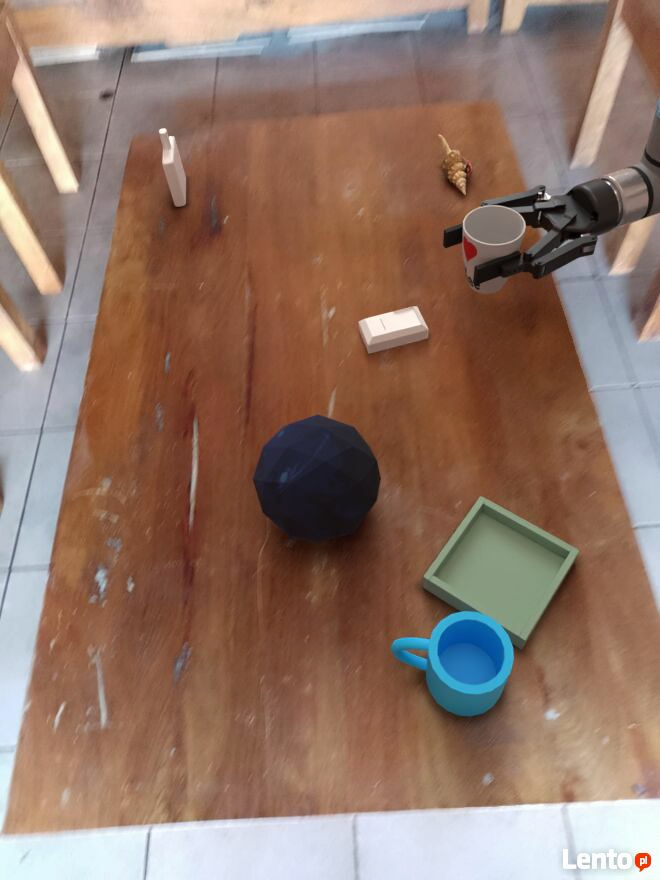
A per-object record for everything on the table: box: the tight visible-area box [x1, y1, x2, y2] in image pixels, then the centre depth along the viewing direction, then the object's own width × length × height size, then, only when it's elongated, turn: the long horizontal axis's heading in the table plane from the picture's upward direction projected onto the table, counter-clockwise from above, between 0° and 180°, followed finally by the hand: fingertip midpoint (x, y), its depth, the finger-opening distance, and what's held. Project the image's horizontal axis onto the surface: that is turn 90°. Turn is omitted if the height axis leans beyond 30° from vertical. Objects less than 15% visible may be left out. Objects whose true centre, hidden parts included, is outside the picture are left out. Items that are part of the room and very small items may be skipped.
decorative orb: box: [252, 414, 382, 544], centre depth 83 cm, size 14×15×15 cm
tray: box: [422, 495, 581, 651], centre depth 81 cm, size 13×13×3 cm
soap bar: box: [357, 305, 430, 355], centre depth 103 cm, size 5×9×3 cm, turn 105°
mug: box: [390, 611, 515, 717], centre depth 73 cm, size 12×8×8 cm
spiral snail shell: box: [437, 133, 474, 196], centre depth 123 cm, size 14×5×4 cm, turn 31°
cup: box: [461, 205, 527, 295], centre depth 98 cm, size 8×8×10 cm
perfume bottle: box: [158, 127, 187, 208], centre depth 123 cm, size 8×2×12 cm, turn 6°
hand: (459, 257), depth 96 cm, fingers closed on cup, 8 cm apart
